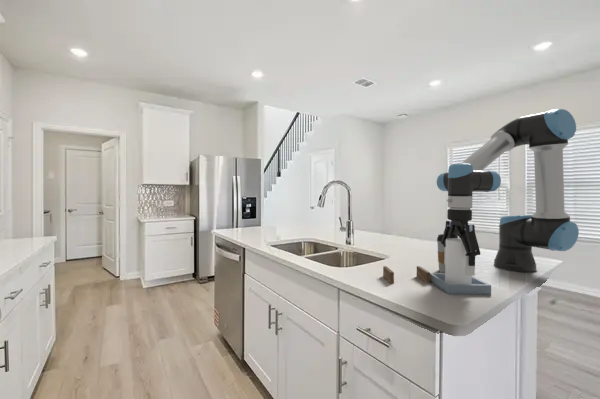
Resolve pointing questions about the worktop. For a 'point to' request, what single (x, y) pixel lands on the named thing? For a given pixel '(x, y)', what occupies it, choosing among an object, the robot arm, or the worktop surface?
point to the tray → (460, 286)
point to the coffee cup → (441, 253)
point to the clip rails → (421, 274)
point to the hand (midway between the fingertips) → (458, 269)
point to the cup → (455, 262)
